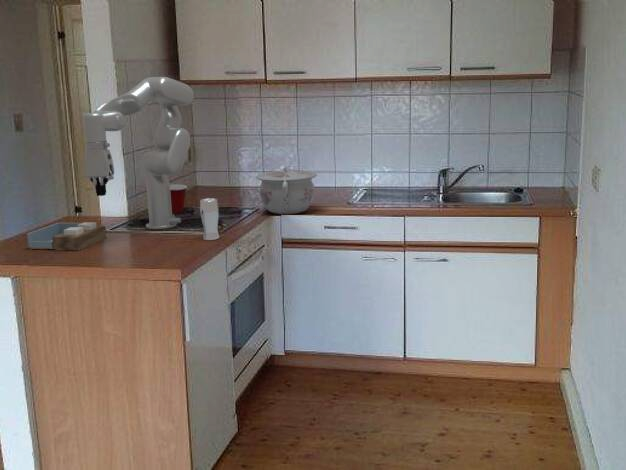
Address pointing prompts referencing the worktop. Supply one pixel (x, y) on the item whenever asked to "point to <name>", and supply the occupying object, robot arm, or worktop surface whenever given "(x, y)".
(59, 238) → the tan slab
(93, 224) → the tile
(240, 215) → the worktop surface
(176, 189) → the plastic cup
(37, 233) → the box
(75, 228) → the tile
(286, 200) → the chamber pot
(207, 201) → the beer glass
